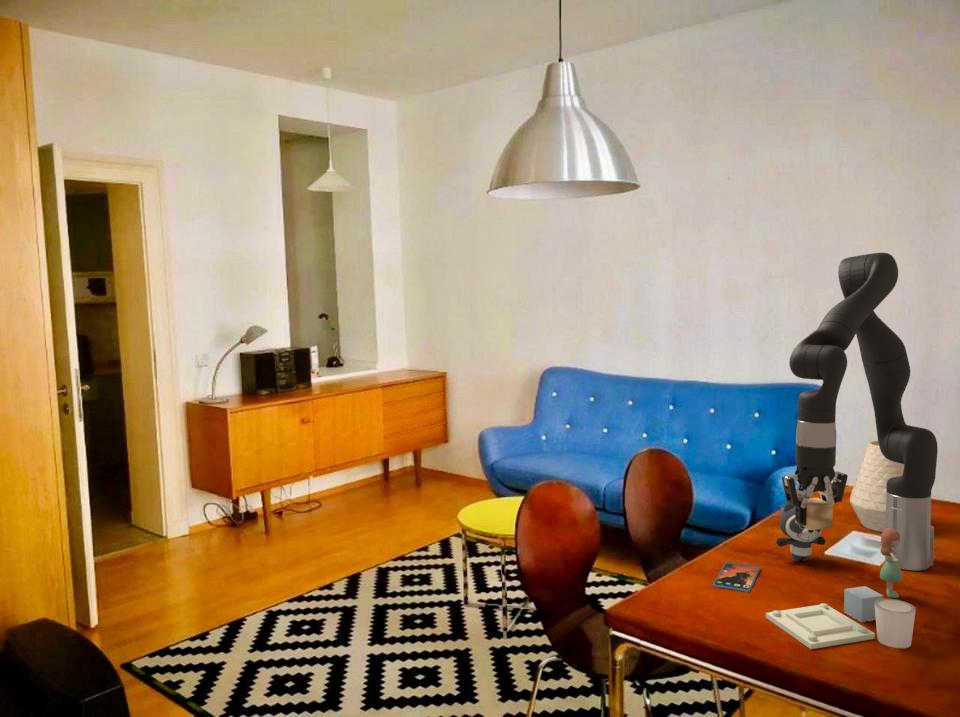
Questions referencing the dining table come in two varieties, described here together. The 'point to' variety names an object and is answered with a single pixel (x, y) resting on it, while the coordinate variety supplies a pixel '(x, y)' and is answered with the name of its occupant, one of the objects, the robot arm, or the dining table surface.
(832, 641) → the baseplate
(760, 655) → the dining table surface
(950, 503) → the dining table surface
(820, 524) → the tan wooden cube
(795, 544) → the toy
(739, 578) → the smartphone
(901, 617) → the white cup
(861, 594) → the grey cube
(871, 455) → the vase
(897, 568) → the toy
